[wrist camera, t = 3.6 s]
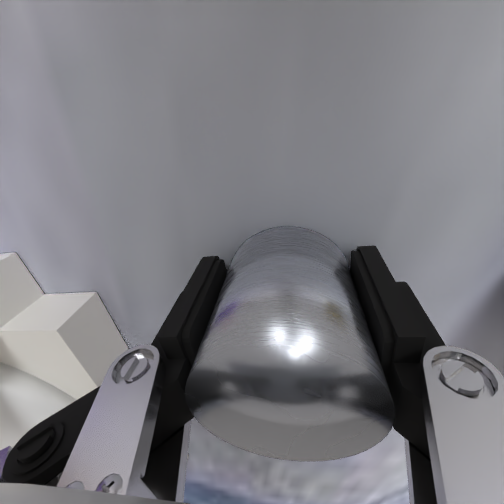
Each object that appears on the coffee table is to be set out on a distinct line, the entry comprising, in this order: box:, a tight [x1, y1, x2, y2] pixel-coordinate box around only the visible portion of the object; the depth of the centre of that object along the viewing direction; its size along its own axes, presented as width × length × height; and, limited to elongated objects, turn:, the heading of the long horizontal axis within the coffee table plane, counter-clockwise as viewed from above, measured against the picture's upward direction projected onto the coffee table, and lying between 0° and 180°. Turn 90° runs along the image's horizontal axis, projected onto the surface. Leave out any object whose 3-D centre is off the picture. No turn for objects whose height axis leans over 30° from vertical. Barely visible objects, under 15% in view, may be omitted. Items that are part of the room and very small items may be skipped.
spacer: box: [185, 226, 395, 461], centre depth 8 cm, size 5×5×5 cm
